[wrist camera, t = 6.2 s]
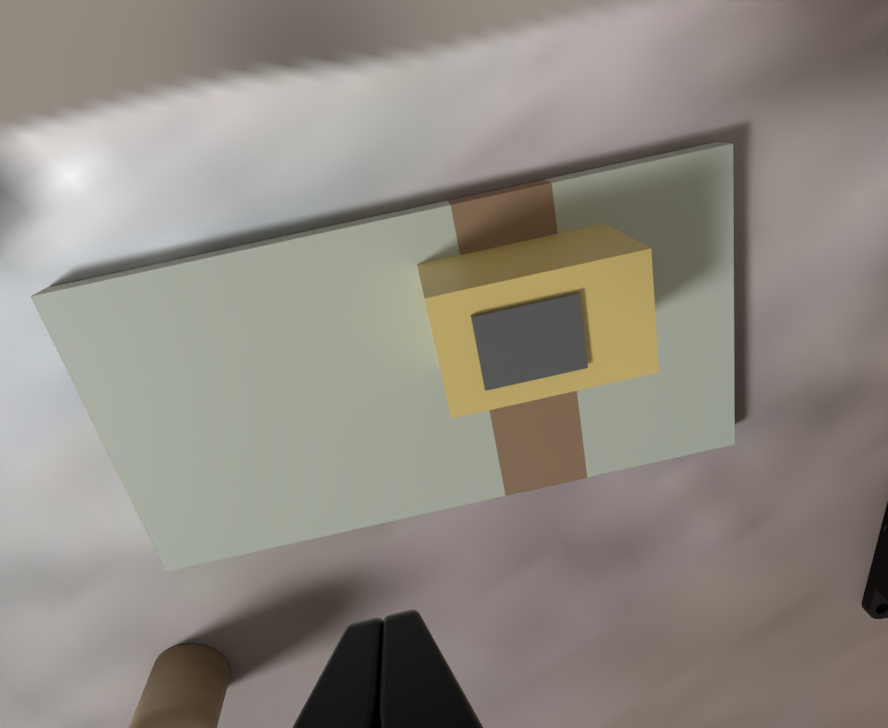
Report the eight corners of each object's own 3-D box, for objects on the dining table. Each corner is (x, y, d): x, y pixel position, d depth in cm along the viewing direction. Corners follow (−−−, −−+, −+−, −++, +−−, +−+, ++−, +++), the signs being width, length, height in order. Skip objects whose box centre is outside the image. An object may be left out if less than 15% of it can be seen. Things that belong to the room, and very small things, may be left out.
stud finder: (604, 223, 16) (654, 249, 13) (614, 329, 17) (661, 375, 14) (416, 264, 16) (425, 300, 13) (439, 368, 17) (451, 422, 14)
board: (717, 141, 16) (733, 143, 16) (721, 431, 20) (734, 444, 19) (46, 288, 16) (31, 296, 15) (173, 554, 20) (165, 571, 19)
